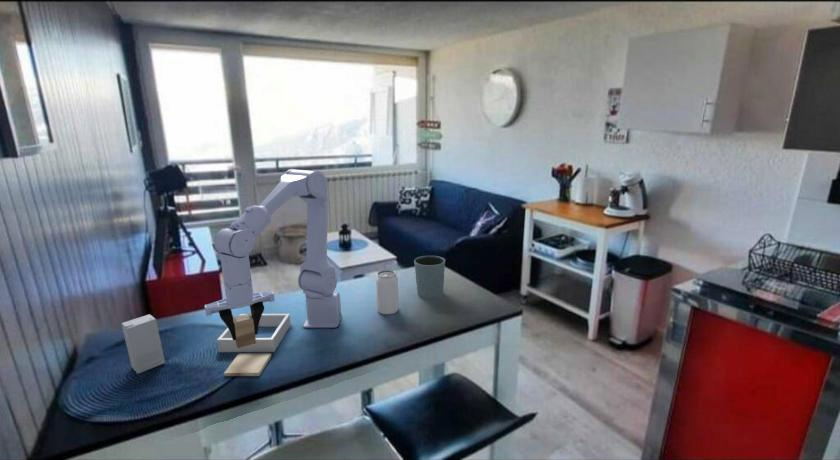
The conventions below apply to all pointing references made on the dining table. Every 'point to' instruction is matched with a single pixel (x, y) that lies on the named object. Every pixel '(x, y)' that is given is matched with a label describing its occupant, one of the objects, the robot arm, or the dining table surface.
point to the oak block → (244, 330)
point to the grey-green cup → (429, 276)
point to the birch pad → (247, 365)
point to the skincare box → (143, 343)
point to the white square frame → (261, 344)
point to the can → (387, 292)
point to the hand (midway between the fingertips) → (244, 335)
